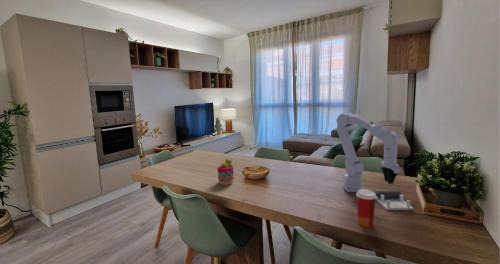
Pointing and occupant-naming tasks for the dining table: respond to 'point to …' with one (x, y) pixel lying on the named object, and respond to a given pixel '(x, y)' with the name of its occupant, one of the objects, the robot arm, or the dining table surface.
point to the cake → (225, 173)
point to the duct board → (394, 203)
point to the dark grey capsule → (388, 194)
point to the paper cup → (365, 207)
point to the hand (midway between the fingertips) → (389, 182)
